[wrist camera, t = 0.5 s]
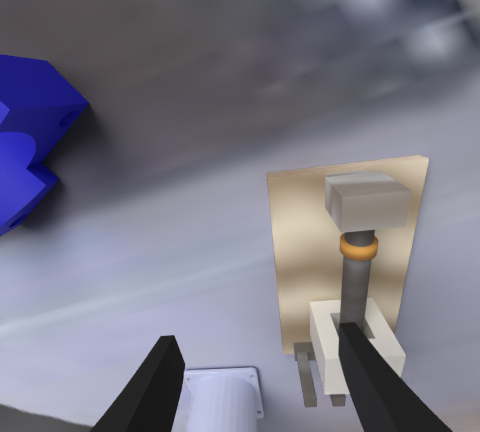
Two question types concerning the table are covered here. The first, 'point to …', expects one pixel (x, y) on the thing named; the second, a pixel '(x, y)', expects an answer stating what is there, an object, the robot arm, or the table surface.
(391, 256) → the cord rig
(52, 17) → the table surface
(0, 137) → the blue stepped block
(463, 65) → the table surface
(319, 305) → the cord end block
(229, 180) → the table surface
